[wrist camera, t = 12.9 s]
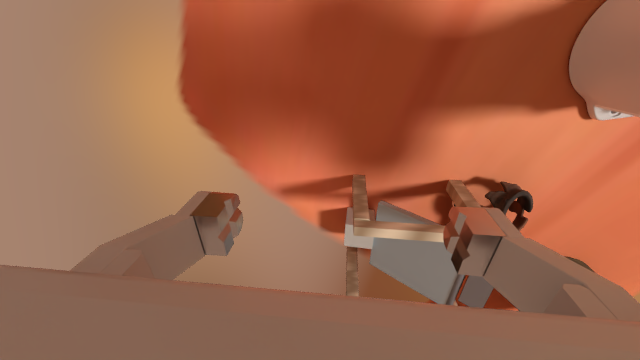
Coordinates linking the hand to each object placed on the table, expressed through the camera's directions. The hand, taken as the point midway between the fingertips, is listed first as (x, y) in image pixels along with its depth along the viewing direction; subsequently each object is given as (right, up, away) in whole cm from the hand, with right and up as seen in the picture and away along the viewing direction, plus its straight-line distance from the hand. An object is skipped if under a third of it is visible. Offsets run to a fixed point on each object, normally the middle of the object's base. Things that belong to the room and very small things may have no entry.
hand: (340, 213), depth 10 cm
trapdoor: (+17, -11, +31) cm, 37 cm away
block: (+9, -8, +36) cm, 38 cm away
